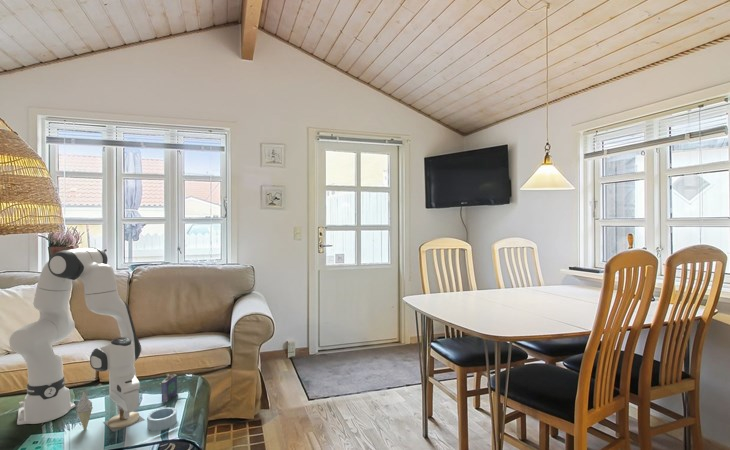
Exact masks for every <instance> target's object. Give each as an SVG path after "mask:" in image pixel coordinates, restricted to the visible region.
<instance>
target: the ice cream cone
mask: <svg viewBox="0 0 730 450" xmlns="http://www.w3.org/2000/svg"><path fill="white" fill-rule="evenodd" d="M75 407H76V409H75V410H76V413H77V415H78V418H79V421H80V423H81V425H82V426H81V427H82V429H83V430H84V431H86V430H87V428H88V424H89V421H90V418H91V414H92V411H93V409H94V408H93V402H92V400H91V399H89V397H88V395H87V394H86V392H85V391H83V392H82V394H81V396H80V398H79V402H78V403H77V405H75Z"/></svg>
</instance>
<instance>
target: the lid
mask: <svg viewBox="0 0 730 450" xmlns="http://www.w3.org/2000/svg"><path fill="white" fill-rule="evenodd" d="M123 414H124V409H123V410H121V411H120V414H118V413H117V414H116V415H113V416H112V417H110V418H109V419H108V420H109V421H108V426H109V427H111V428H121V427H125V428H127V427H126V426H128V427H130V426H132V425H131V424H133V423H135V422H136V421H138V420H139V416H140V413H139V412H137V411H134V412H130V417H129V418H127V419H124V418H123ZM129 425H130V426H129ZM133 425H134V424H133ZM108 426H107V427H108ZM109 427H108V428H109Z"/></svg>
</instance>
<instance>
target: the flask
mask: <svg viewBox="0 0 730 450" xmlns="http://www.w3.org/2000/svg"><path fill="white" fill-rule="evenodd" d="M165 376H166V378H165V379H163V380H162V381H161V382H160V383H161V402H162V403H165V402H168V401H169V399H170V400H172V399H173V398H174V397H175V396H177V395H178V374H169V373H166V375H165Z"/></svg>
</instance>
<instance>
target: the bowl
mask: <svg viewBox="0 0 730 450" xmlns="http://www.w3.org/2000/svg"><path fill="white" fill-rule="evenodd" d="M177 411H178V410H177V409H176V408H174V407H161V408H158V409H154V410H152V411H151V412H150V413H148V414H147V418H146V422H147V423H146V424H147V425H146V426H147V429H148V430H149V431H153V432H160V431H165V430H167V429H170V428H172V427H173V426H175V425H176V424H177V420H178V416H177V415H178V414H177Z"/></svg>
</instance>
